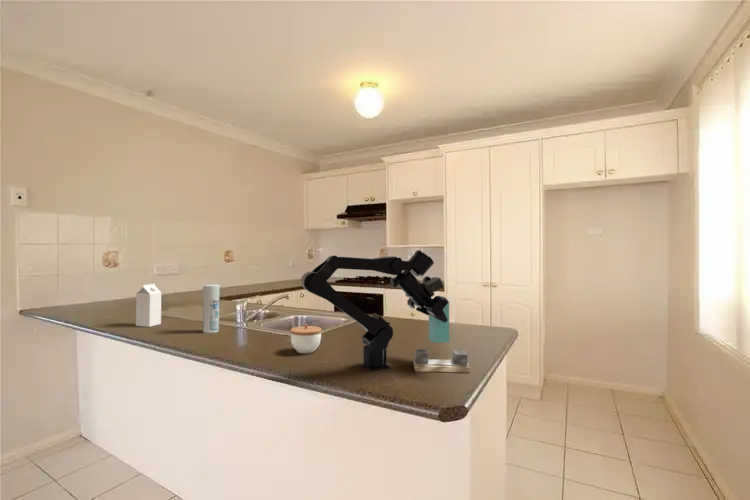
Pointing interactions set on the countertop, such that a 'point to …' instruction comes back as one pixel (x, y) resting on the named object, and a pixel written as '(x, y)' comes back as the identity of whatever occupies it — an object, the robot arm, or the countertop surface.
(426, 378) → the countertop surface
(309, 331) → the lidded jar
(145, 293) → the milk carton
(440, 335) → the block
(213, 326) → the spray can
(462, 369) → the board
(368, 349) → the robot arm
